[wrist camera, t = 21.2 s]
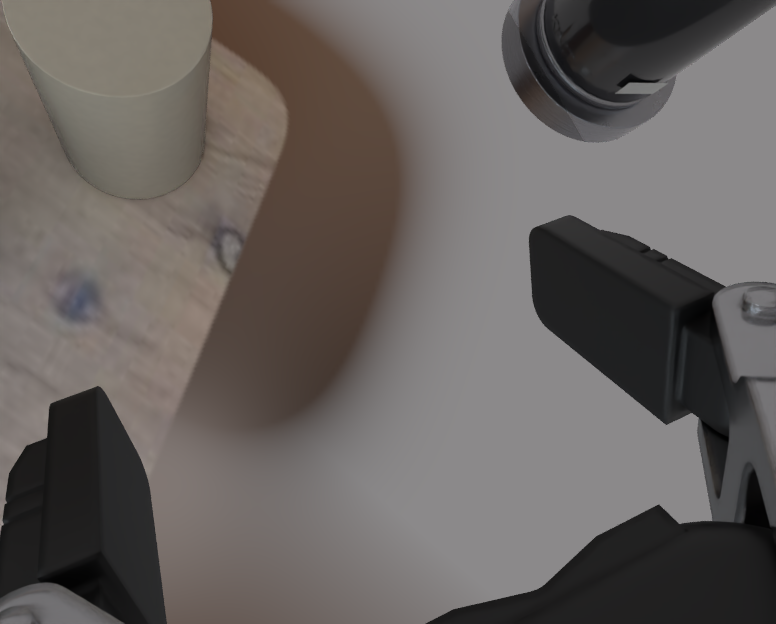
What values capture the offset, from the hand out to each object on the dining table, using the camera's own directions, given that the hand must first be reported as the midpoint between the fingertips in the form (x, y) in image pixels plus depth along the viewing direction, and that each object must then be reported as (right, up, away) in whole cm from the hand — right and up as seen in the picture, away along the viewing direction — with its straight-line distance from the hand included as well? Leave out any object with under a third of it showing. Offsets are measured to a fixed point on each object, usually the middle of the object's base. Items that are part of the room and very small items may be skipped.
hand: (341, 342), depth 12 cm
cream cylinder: (-11, +9, +18) cm, 23 cm away
